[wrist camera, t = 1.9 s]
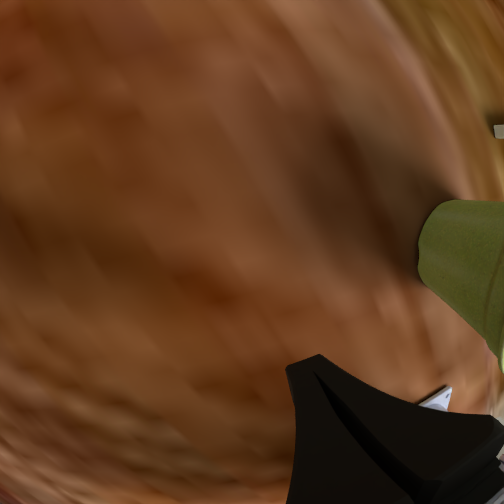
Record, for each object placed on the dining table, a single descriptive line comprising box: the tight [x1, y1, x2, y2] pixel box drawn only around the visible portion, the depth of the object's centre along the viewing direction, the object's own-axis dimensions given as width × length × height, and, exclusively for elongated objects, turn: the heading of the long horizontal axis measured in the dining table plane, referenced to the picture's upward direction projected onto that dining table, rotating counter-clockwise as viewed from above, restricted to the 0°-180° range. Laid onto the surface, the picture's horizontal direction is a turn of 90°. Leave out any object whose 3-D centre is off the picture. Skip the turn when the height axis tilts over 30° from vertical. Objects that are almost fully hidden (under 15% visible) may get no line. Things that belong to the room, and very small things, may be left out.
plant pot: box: [418, 199, 504, 374], centre depth 13 cm, size 9×9×9 cm
